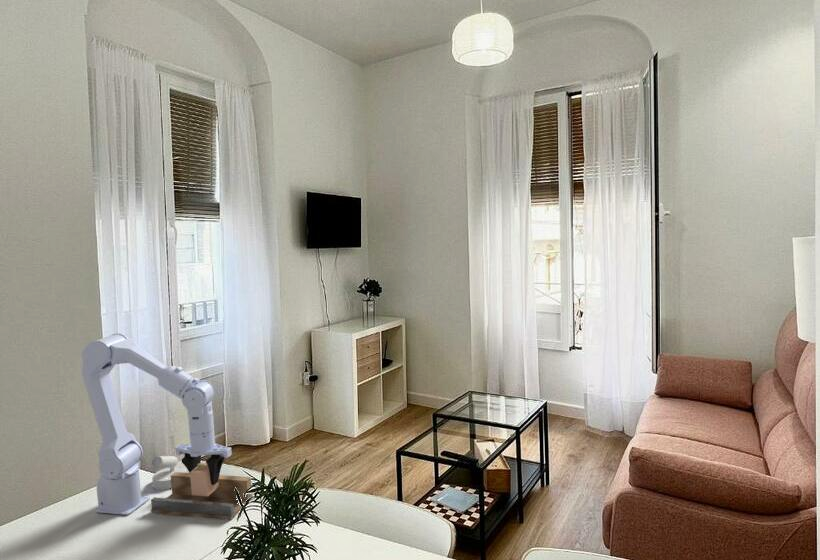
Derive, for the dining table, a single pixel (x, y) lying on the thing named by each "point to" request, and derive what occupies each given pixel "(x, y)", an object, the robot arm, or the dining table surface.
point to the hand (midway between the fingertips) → (206, 482)
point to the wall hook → (165, 471)
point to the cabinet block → (202, 481)
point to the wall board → (200, 498)
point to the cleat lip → (192, 506)
